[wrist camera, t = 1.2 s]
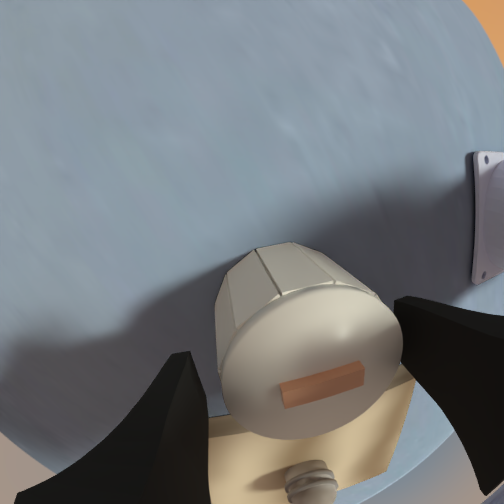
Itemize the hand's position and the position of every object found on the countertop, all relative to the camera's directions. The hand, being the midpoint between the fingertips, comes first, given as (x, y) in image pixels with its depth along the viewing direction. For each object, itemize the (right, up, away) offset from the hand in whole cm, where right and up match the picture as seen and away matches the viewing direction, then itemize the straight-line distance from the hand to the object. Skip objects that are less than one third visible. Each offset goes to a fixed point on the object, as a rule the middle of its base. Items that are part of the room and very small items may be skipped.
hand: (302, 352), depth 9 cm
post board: (+2, -10, +7) cm, 12 cm away
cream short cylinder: (0, +1, +3) cm, 3 cm away
